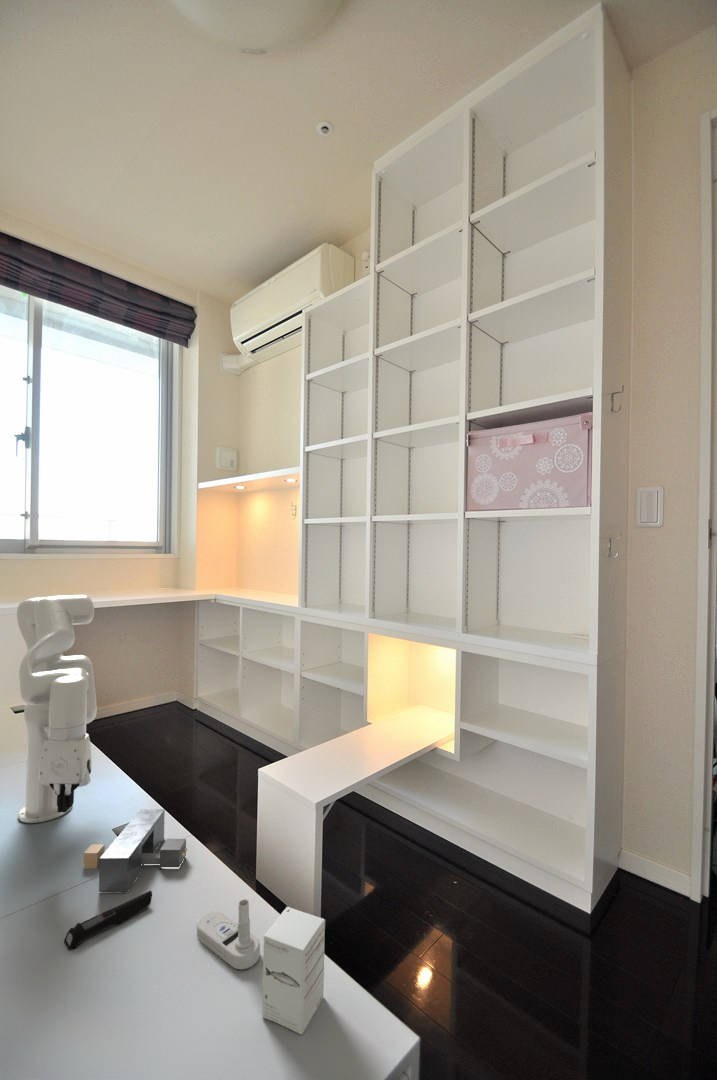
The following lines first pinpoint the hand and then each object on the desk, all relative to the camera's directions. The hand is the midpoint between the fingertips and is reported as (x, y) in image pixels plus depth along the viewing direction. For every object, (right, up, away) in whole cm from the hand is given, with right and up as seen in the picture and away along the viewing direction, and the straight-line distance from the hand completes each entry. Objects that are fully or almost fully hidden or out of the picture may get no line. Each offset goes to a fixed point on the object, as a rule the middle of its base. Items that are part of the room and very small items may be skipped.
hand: (65, 809), depth 115 cm
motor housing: (+17, -12, -1) cm, 20 cm away
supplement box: (+58, -11, -37) cm, 70 cm away
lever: (+17, -12, -1) cm, 21 cm away
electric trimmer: (+20, -12, -20) cm, 31 cm away
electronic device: (+44, -12, -25) cm, 52 cm away
